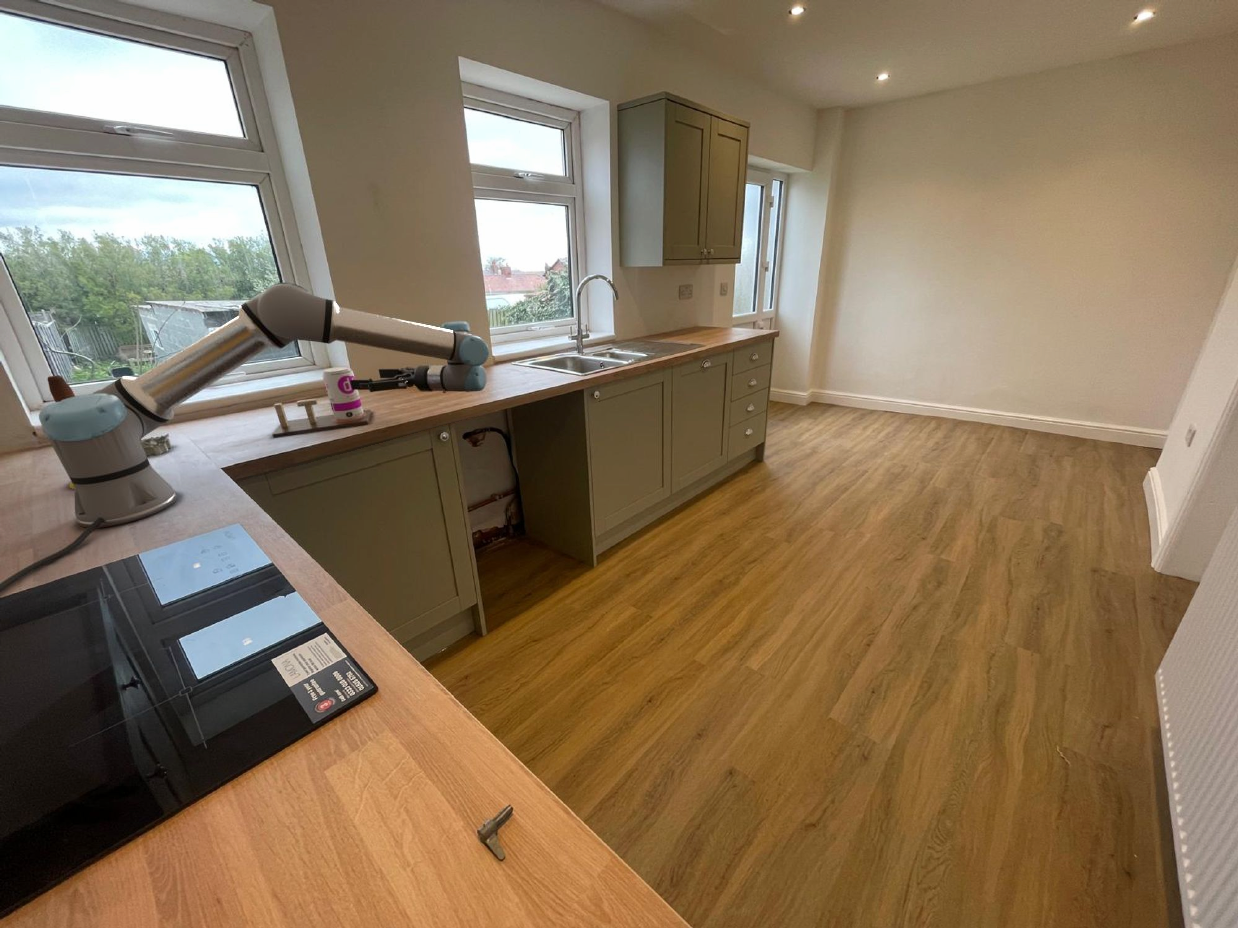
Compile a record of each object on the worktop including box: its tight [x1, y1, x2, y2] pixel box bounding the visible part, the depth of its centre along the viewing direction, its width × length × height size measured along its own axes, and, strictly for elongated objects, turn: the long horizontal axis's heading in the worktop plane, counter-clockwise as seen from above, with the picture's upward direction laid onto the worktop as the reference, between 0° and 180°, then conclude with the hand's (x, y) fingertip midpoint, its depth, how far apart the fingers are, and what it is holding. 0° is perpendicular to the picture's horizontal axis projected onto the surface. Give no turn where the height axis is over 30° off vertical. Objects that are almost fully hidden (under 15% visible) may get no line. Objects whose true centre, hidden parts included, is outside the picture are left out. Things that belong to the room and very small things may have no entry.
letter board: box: [272, 398, 372, 438], centre depth 152 cm, size 13×25×8 cm, turn 111°
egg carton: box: [140, 433, 173, 457], centre depth 136 cm, size 11×8×4 cm
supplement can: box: [322, 365, 364, 420], centre depth 152 cm, size 8×8×15 cm
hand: (366, 378), depth 149 cm, fingers open, 13 cm apart
